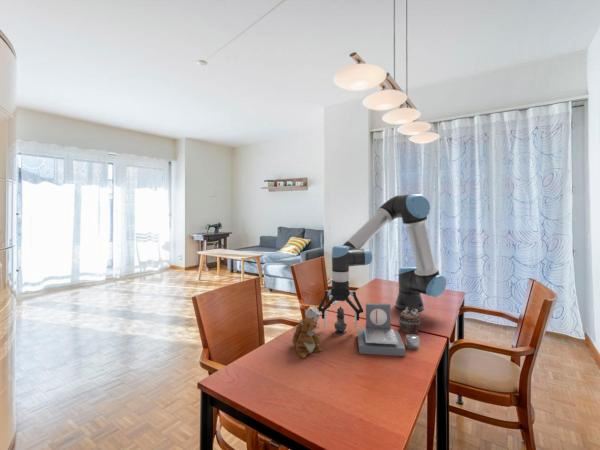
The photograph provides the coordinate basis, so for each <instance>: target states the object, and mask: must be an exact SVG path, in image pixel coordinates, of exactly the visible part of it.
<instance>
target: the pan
mask: <svg viewBox="0 0 600 450" xmlns="http://www.w3.org/2000/svg"><path fill="white" fill-rule="evenodd" d="M363 329H364V334H365V341H366V343H382V344H398V340H397V338H396V335H395V333H394V331H395V330H394V329H392V328H391V329H378V328H366V327H363Z"/></svg>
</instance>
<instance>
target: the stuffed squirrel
mask: <svg viewBox="0 0 600 450" xmlns="http://www.w3.org/2000/svg"><path fill="white" fill-rule="evenodd" d="M313 319H314V317H312V318H306V317H305V318H304V319H301V318H300V319H299V322H298V324H297V326H296V329H295V332H294V333H293V336H292V343H293V344H292V345H293V346H294V347H295V350H296V353H297V355H298V356H299V357H300V358H301V359H306V357H307V355H308V354H311V353H313V352H314V353H316V352H318V353H319V352H320V353H321V352H322V351H323V348H322V347H321V346H318V344H319V343H321V337H320V336H319V335H318V334H317V333H315V331H316V330H319V329H320V327H319V326H318V325H317V324H316V323H315V322H314V321H313Z"/></svg>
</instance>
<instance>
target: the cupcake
mask: <svg viewBox="0 0 600 450" xmlns="http://www.w3.org/2000/svg"><path fill="white" fill-rule="evenodd" d="M405 309H406V310H402V312H400V315H399V317H398V322H399V327H400V330H401V331H402V332H404V333H409V334H415V333H418V332H419V330H420V325H421V321H422V319H421V317H420V315H421V314H419V311H418V310H417V308H410V307H406V308H405Z"/></svg>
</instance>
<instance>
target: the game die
mask: <svg viewBox="0 0 600 450" xmlns="http://www.w3.org/2000/svg"><path fill="white" fill-rule="evenodd" d="M307 307H308V308H307V309H306V311H305V312H303V313H302V314H303V315H304V316H305V319H306V318H312V317H314V319H313V321H314V323H315V324H316V325H318V323H317V322H318V321H319V319H320V317H322V314H321V313H320V311H319V310H318V307H319V306H317V307H316V306H315V307H314V306H310V305H308V306H307Z"/></svg>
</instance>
